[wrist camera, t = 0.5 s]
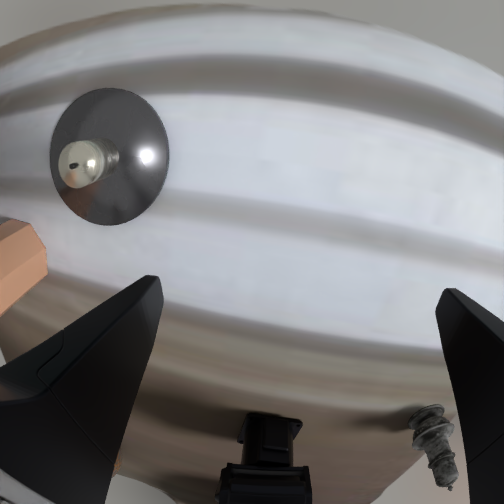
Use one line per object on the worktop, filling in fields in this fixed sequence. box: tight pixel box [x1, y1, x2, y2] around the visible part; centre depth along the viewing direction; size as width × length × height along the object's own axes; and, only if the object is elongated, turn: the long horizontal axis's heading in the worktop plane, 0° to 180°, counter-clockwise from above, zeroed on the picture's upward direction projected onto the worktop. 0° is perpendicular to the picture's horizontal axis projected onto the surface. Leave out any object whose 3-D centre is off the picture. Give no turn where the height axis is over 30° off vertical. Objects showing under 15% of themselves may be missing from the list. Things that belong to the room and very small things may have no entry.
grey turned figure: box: [408, 404, 459, 491], centre depth 26 cm, size 6×6×12 cm
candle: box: [50, 88, 169, 226], centre depth 20 cm, size 11×11×5 cm
